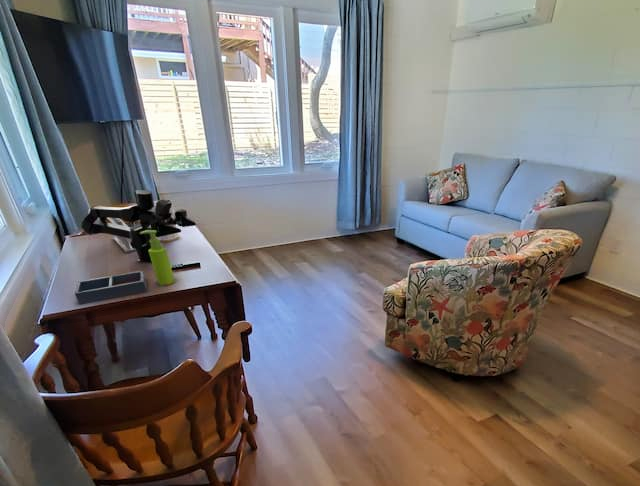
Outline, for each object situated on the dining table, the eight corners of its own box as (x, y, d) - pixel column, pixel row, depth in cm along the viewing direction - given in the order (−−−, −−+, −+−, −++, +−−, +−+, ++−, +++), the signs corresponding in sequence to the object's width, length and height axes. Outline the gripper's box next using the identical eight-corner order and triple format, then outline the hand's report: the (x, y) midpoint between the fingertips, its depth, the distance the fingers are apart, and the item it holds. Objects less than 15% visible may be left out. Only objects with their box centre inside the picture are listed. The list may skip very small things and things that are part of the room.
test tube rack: (136, 250, 183) (127, 221, 176) (125, 252, 181) (116, 223, 173) (123, 237, 199) (114, 210, 192) (113, 239, 197) (104, 212, 190)
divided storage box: (82, 291, 146) (77, 281, 144) (145, 280, 154) (142, 270, 152) (79, 304, 138) (74, 293, 135) (146, 291, 146) (143, 281, 143)
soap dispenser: (158, 279, 155) (143, 228, 144) (176, 278, 155) (162, 228, 145) (153, 285, 150) (136, 233, 139) (172, 284, 150) (157, 233, 140)
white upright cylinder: (175, 242, 191) (165, 205, 182) (152, 242, 192) (141, 206, 182) (184, 235, 201) (175, 199, 192) (162, 235, 201) (152, 200, 192)
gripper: (133, 204, 149) (169, 213, 146) (167, 193, 164) (200, 201, 161) (139, 233, 155) (173, 242, 152) (171, 220, 170) (203, 228, 167)
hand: (188, 227), depth 158 cm, fingers open, 9 cm apart
